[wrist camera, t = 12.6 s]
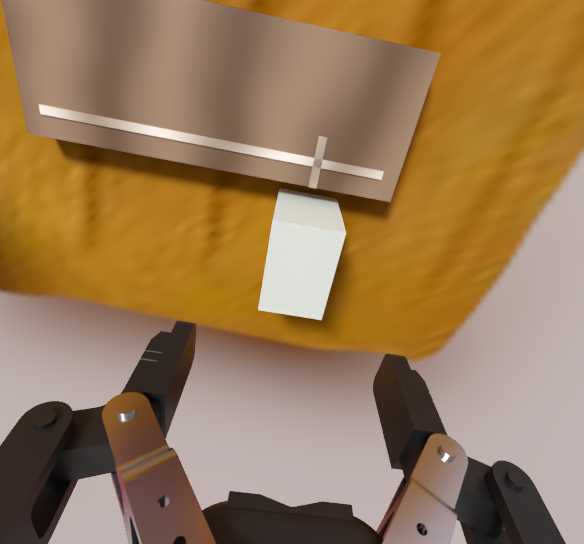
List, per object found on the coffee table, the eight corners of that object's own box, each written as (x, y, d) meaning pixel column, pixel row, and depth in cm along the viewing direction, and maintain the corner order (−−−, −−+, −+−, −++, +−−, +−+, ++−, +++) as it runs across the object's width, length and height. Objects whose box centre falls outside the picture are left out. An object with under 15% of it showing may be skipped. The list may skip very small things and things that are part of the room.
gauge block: (266, 265, 26) (257, 311, 21) (279, 187, 23) (272, 219, 18) (317, 273, 26) (321, 322, 21) (336, 198, 23) (346, 233, 18)
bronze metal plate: (49, 129, 22) (26, 133, 20) (23, -34, 18) (-10, -47, 16) (383, 192, 23) (390, 202, 21) (428, 55, 19) (441, 53, 17)
